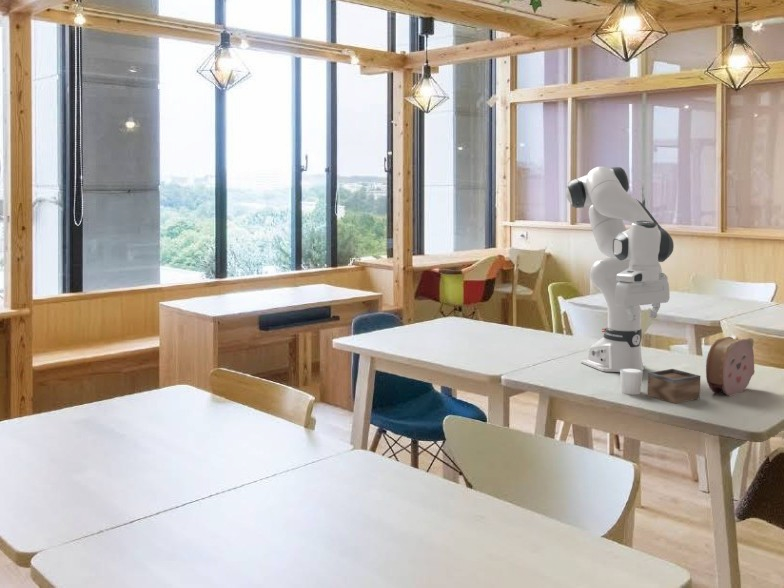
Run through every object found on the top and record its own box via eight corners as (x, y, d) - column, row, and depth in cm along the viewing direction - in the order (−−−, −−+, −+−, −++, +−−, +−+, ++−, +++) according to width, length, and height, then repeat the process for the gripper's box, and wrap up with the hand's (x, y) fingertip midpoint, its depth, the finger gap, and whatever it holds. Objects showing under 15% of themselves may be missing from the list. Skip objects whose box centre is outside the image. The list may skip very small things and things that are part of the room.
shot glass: (630, 396, 247) (631, 373, 246) (614, 391, 253) (615, 369, 252) (647, 393, 250) (647, 371, 249) (630, 388, 256) (631, 366, 255)
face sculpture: (724, 399, 243) (727, 345, 240) (703, 395, 248) (705, 341, 245) (754, 387, 256) (757, 336, 253) (733, 383, 261) (736, 333, 258)
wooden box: (647, 395, 248) (648, 372, 247) (671, 390, 253) (672, 368, 252) (674, 403, 239) (676, 380, 238) (699, 398, 244) (700, 375, 243)
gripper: (659, 271, 255) (657, 315, 256) (612, 275, 244) (611, 320, 246) (675, 273, 249) (673, 317, 251) (628, 277, 239) (626, 323, 240)
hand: (642, 319), depth 248 cm, fingers open, 8 cm apart
